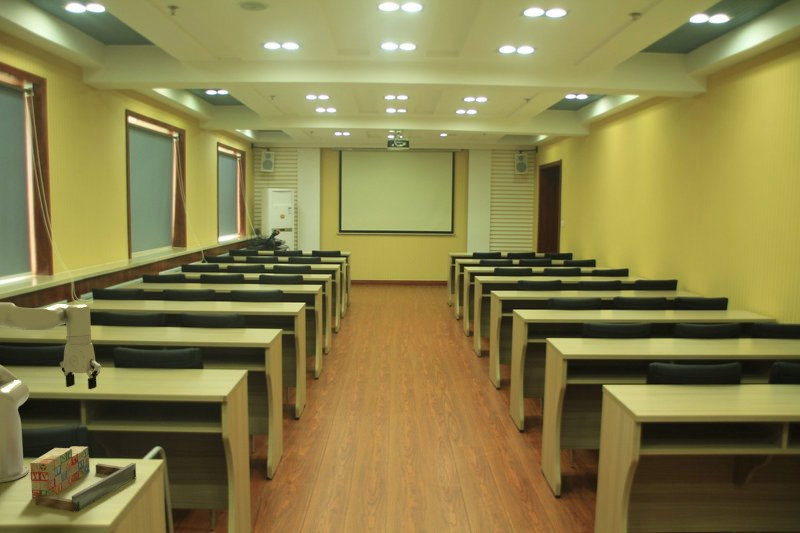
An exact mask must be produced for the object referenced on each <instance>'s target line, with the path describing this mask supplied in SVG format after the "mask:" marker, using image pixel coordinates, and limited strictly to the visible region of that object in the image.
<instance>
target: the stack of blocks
mask: <svg viewBox="0 0 800 533" xmlns="http://www.w3.org/2000/svg"><path fill="white" fill-rule="evenodd" d="M89 453H90V452H89V446H70V447H69V448H68V447H66V448H65V447H64V448H63V447H54V448H53V449H51V450H49V451H48V452H46V453H45V454H42V455H41V456H39V457H38V458H36V459H34V460H33V461H31V462H30V463H29V465H30V482H31V499H35V496H36V495H38V494H42V495H48V496H54V497H56V496H57V495H58V494H59V493H61V492H62V491H64V490H66V489H67V488H68V487H69V486H71V485H72V484H73V483H75V482H76V481H78V480H80V479H81V478H82V477H83V476H84V477H85V475H87V474H88V473H90V471H91V470H90V454H89Z"/></svg>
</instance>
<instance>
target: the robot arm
mask: <svg viewBox="0 0 800 533" xmlns="http://www.w3.org/2000/svg"><path fill="white" fill-rule="evenodd" d="M65 324H66V326H65V327H66V337H65V339H66V340H67V341H66V344H65V345H64V351H63V360H62V361H60V362H59V365H60V367H61V371H62V372H63V375H64V376H65V387H66V388H70V387H72V386H75V385H76V384H75V383H76V382H75V374H85V373H86V375H87V377H88V378H87V388H88V390H93V389H96V388H97V387H98V386H97V384H98V383H97V377H98V376H99V374H100V372H101V370H102V367H103V366H102V365H101V364H100V363H99V362H97V361H96V355H95V349H94V345H93V343H92V332H91V331H92V329H91V328H92V327H91V308H90V306H89V305H87V304H84V303H83V304H63V303H55V304H52V305H49V306H46V307H44V308H43V307H42V308H39V307H38V308H36V307H35V308H34V307H33V308H32V307H21V306H17V305H15V303H13V302H0V328H8V329H9V328H10V329H15V330H24V331H25V330H26V331H49V330H53V329H56V328H57V327H59V326H60V327H61V326H63V325H65ZM74 373H75V374H74ZM29 396H30V390H29V387H28V385H27V384H26V383H25V382H24V381H23V380H21V379H20V378H19V377H17V376H16V375H15V374H14V373H12V372H11V371H10V370H8V369H7V368H6V367H4V366H3V365H1V364H0V483H7V482H12V481H15V480H17V479H21V478H23V477H24V476H26V475H28V473H29V471H30V468H29V466H27V465H24V452H23V450H24V449H23V434H22V433H23V432H22V422H21V421H22V420H21V416H20V413H19V410H18V409H19V407H20V406H22V405H24V403H25V402H26V401H27V400H28V398H29Z"/></svg>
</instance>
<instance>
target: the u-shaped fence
mask: <svg viewBox="0 0 800 533" xmlns="http://www.w3.org/2000/svg"><path fill="white" fill-rule="evenodd" d="M95 474H99V475H106V476H105V477H103V478H102V479H100V480H98V481H97V482H95V483H93V484H91V485H89V486H87V487H86V488H84V489H82V490H80V491H78V492H76V493H75V494H73V495H71V498H65V497H61V496H60V497H58V496H48V495H42V494H38V495H36V496H35V498H34V500H35V506H38V507H45V508H50V509H56V510H61V511H67V512H73V513H78V512H79V511H81V510H83V509H84V508H86V507H88V506H90V505H92V504H93V503H95V502H96V501H98V500H100V499H101V498H103V497H104V496H107V495H109V494H110V493H111V492H113V491H115V490H117V489H118V488H120V487H122V486H124V485H125V484H127V483H129V482H131V481H133V480H134V479H136V478H137V467H136V463H135V462H130V463H129V464H127V465H126V466H118V465H111V464H103V463H99V462H98V463H97V464H95ZM135 477H136V478H135ZM130 480H131V481H130ZM123 484H124V485H123Z"/></svg>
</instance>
